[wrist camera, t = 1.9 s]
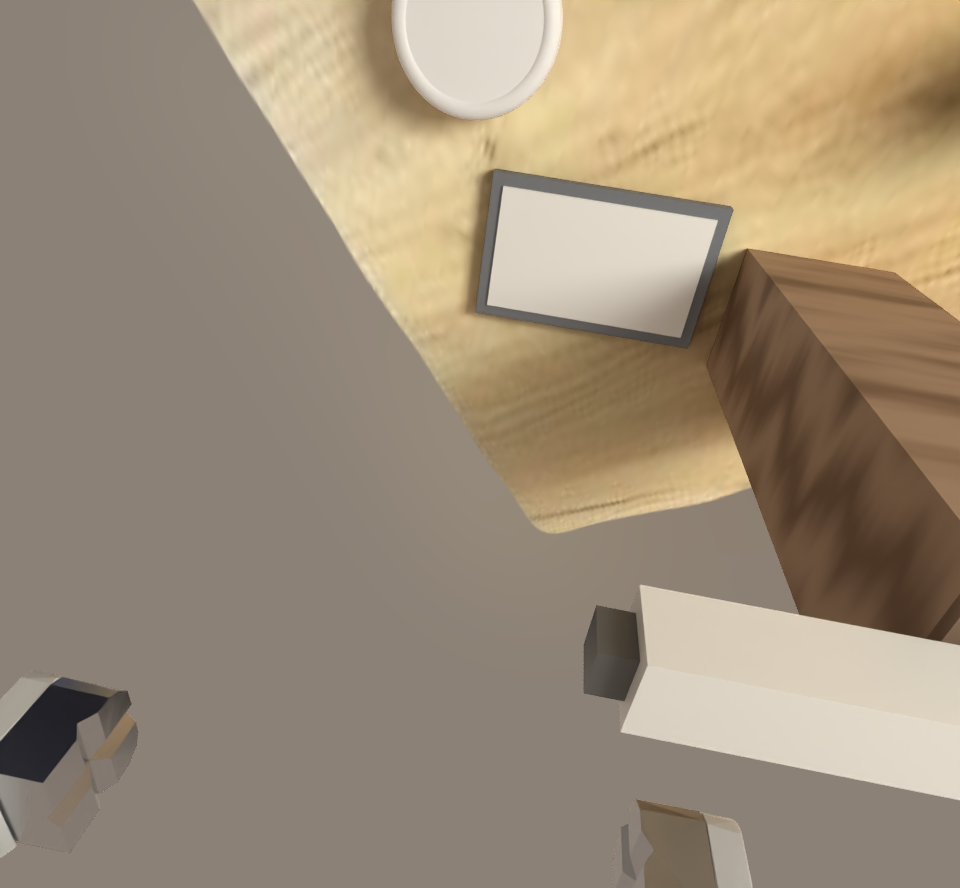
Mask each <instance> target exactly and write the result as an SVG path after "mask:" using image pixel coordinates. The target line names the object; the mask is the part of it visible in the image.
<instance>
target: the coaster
mask: <svg viewBox="0 0 960 888" xmlns="http://www.w3.org/2000/svg"><path fill="white" fill-rule="evenodd" d="M391 22H392V34H393V39H394V45H395V48H396V52H397V55H398V58H399V61H400V63H401V66H402V68H403V70H404V72H405V74H406V76H407V77H408V79H409V81H410V82H411V84H412V85H413V86H414V88H415V89H416V91H417V92H418V93H419V94H420V95H421V96H422V97H423V98H424V99H425V100H426V101H427V102H429V103H430V104H431V105H432V106H433V107H435V108H437V109H438V110H440V111H442V112H444V113H446V114H448V115H450V116H453V117H457V118H460V119H466V120H486V119H492V118H496V117H499V116H502V115H504V114H507V113H509V112H511V111H513V110H515V109H516V108H518V107H520V106H521V105H522V104H523V103H525V102H526V101H527V100H528V99H529V98H530V97H531V96H532V95H533V94H534V93H535V92H536V91H537V90H538V89H539V88H540V86H541V85H542V84H543V82H544V81H545V79H546V78H547V76H548V74H549V72H550V71H551V69H552V66H553V64H554V62H555V59H556V56H557V53H558V50H559V46H560V41H561V35H562V24H563V14H562V2H561V0H392V11H391Z"/></svg>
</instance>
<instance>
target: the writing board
mask: <svg viewBox="0 0 960 888" xmlns="http://www.w3.org/2000/svg"><path fill="white" fill-rule="evenodd" d="M732 213H733V209H732V207H731V206H725V205H719V204H712V203H706V202H700V201H694V200H687V199H681V198H675V197H669V196H662V195H656V194H650V193H644V192H638V191H631V190H625V189H619V188H613V187H606V186H600V185H594V184H588V183H581V182H575V181H569V180H563V179H557V178H550V177H544V176H538V175H532V174H525V173H519V172H513V171H507V170H501V169H495V170H494V172H493V180H492V187H491V195H490V203H489V211H488V219H487V226H486V234H485V242H484V250H483V258H482V265H481V273H480V281H479V289H478V297H477V304H476V312H477V313H483V314H489V315H494V316H500V317H506V318H512V319H518V320H524V321H529V322H535V323H541V324H547V325H553V326H559V327H564V328H570V329H576V330H582V331H588V332H594V333H599V334H605V335H611V336H617V337H623V338H628V339H634V340H640V341H646V342H652V343H658V344H663V345H669V346H675V347H681V348H687V349H688V347H689V344H690V341H691V338H692V335H693V332H694V329H695V326H696V322H697V319H698V316H699V313H700V310H701V307H702V304H703V301H704V298H705V295H706V292H707V289H708V286H709V283H710V280H711V277H712V274H713V271H714V268H715V265H716V262H717V259H718V255H719V252H720V249H721V246H722V243H723V240H724V237H725V234H726V231H727V228H728V225H729V222H730V219H731V216H732Z"/></svg>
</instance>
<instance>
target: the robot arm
mask: <svg viewBox="0 0 960 888" xmlns="http://www.w3.org/2000/svg"><path fill="white" fill-rule="evenodd" d="M130 706H131V701H130V697H129V694H128V691H126V690H121V689H117V688H112V687H107V686H103V685H98V684H93V683H89V682H84V681H79V680H74V679H71V678H68V677H64V676H59V675H54V674H49V673H44V672H39V671H32V672H30V673H28V674H27V675H25V676H23V677H22V678H20V679H19V680H18V681H17V682H16V683H15V684H14V685H13V687H11V689H10V690H9V691H8V692H7V693H6V694H5V695H4V696H3V697H2V698H1V699H0V858H1V857H2V856H4V855H5V854H6V853H8V852H9V851H11V850H12V849H13V848H15V847H16V843H21V844H26V845H31V846H36V847H41V848H46V849H51V850H56V851H61V852H67V853H71V851H72V850H73V848H74V847H75V845H76V844H77V842H78V841H79V839H80V838H81V836H82V835H83V833H84V832H85V830H86V829H87V827H88V826H89V824H90V823H91V821H92V820H93V819H94V817H95V815H96V814H97V813H98V811H99V794H100V793H101V792H103V791H105V790H106V789H108V788H109V787H111V786H113V785H114V784H116V783H117V782H118V781H119V780H120V778H121V776H122V775H123V773H124V772H125V770H126V769H127V767H128V765H129V763H130V761H131V759H132V756H133V753H134V751H135V748H136V746H137V738H138V729H137V725H136V722H135V721H134V720H133V719H132V718H131V717H130V716H129V715H128V714H127V713H126V711H127V710H128V709H129V707H130ZM15 842H16V843H15ZM613 888H753V886H752V882H751V876H750V872H749V867H748V862H747V857H746V852H745V847H744V843H743V838H742V833H741V829H740V828H739V826H738V824H737V822H735V821H734V820H733V819H730V818H725V817H720V816H715V815H710V814H705V813H700V812H699V811H694V810H688V809H684V808H678V807H673V806H668V805H663V804H658V803H653V802H647V801H642V800H637V799H636V800H634V801H632V803H631V805H630V807H629V809H628V824H627V825H625V826H623V827H621V829H620V831H619V834H618V837H617V840H616V845H615V851H614V857H613Z"/></svg>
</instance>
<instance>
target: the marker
mask: <svg viewBox="0 0 960 888" xmlns="http://www.w3.org/2000/svg"><path fill="white" fill-rule="evenodd" d="M584 693H585V694H590V695H595V696H600V697H605V698H610V699H616V700H619V716H620V732H623V733H629V734H634V735H638V736H643V737H649V738H653V739H658V740H663V741H668V742H673V743H678V744H683V745H688V746H693V747H698V748H703V749H709V750H713V751H718V752H723V753H728V754H733V755H738V756H743V757H748V758H753V759H758V760H763V761H768V762H773V763H778V764H783V765H787V766H792V767H798V768H803V769H807V770H812V771H818V772H822V773H827V774H832V775H837V776H843V777H847V778H852V779H857V780H862V781H867V782H872V783H877V784H882V785H887V786H892V787H897V788H902V789H907V790H912V791H917V792H922V793H927V794H932V795H937V796H942V797H947V798H952V799H957V800H960V645H955V644H950V643H945V642H939V641H934V640H929V639H924V638H918V637H913V636H908V635H903V634H897V633H892V632H887V631H881V630H876V629H871V628H866V627H860V626H855V625H850V624H845V623H839V622H834V621H829V620H823V619H818V618H813V617H808V616H802V615H797V614H792V613H787V612H781V611H776V610H771V609H766V608H760V607H755V606H749V605H744V604H739V603H733V602H729V601H723V600H718V599H713V598H707V597H702V596H697V595H692V594H686V593H681V592H676V591H670V590H665V589H660V588H655V587H649V586H644V585H639V588H638V591H637V593H636V596H635V599H634V602H633V605H632V607H631V610H630V612H628V611H623V610H618V609H612V608H607V607H602V606H596V608H595V612H594V615H593V618H592V621H591V624H590V627H589V630H588V633H587V637H586V640H585V643H584Z"/></svg>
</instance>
